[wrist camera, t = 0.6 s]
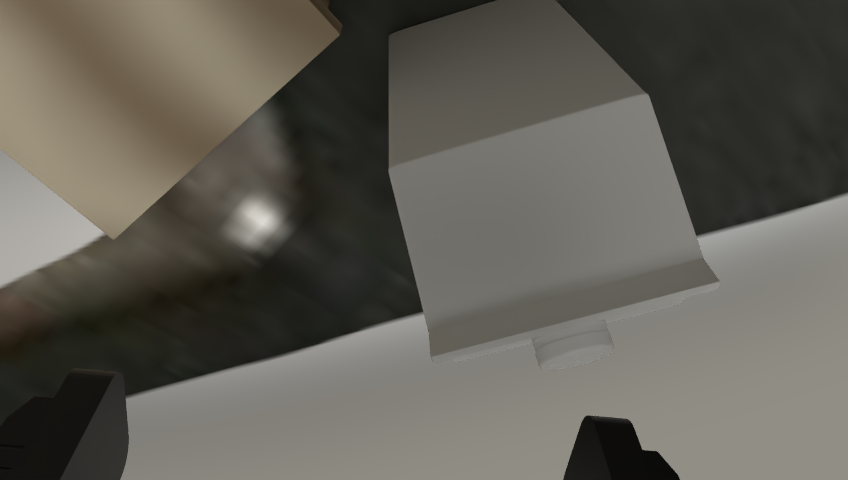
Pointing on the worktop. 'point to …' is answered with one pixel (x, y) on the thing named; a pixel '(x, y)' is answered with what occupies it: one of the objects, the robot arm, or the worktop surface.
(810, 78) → the worktop surface
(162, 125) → the stool
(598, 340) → the white milk carton
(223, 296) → the worktop surface
